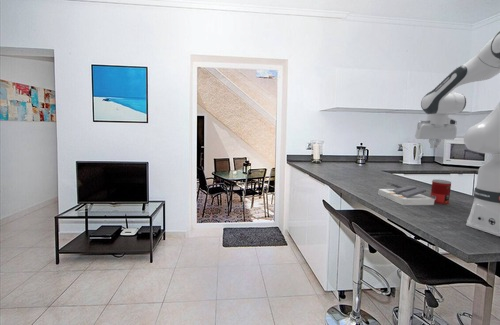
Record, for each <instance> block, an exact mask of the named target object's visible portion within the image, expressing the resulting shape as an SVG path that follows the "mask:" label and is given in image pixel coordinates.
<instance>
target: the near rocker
mask: <svg viewBox="0 0 500 325" xmlns="http://www.w3.org/2000/svg"><path fill="white" fill-rule="evenodd" d="M416 188H417V189H414V190H410V191H407V192H404V193H401V194H402V196H404V197H407V198H409V197H412V196H415V195H418V194H421V195H422V194H424V193H427V189H426V188H423V187H416Z"/></svg>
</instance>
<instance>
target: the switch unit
mask: <svg viewBox="0 0 500 325" xmlns="http://www.w3.org/2000/svg"><path fill="white" fill-rule="evenodd" d="M394 189H395V188H378V189H377V190H378V191H377V194H378V195H379V196H381V197H383V198H386V199H387V200H391V201H393V202H395V203H397V204H399V205H402V206H434V205H435V203H434V200H435V199H433V198H431V196H430V197H429V196H427V195H424V194H422V193H421V194H418V195H415V196H412V197H409V198H407V197H404V196H402V194H401V193H400V194H398V193H395V192H393V190H394Z"/></svg>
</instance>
